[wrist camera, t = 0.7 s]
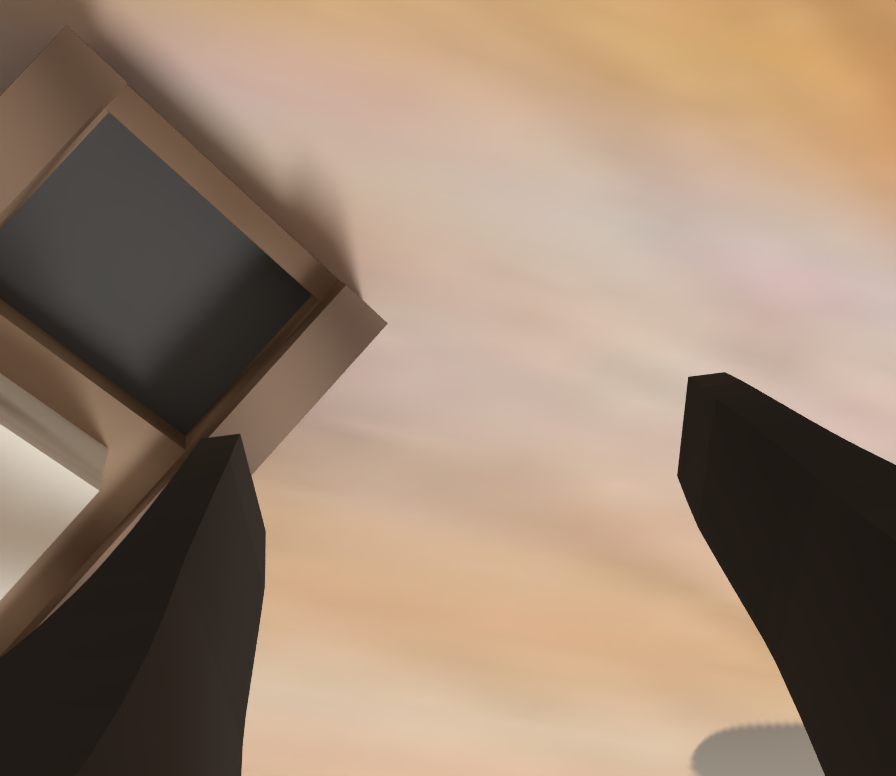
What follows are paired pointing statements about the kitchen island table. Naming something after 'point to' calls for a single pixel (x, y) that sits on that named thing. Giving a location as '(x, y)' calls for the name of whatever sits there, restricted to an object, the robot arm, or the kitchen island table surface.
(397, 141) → the kitchen island table surface
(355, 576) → the kitchen island table surface
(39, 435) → the cube
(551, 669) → the kitchen island table surface
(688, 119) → the kitchen island table surface
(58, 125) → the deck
